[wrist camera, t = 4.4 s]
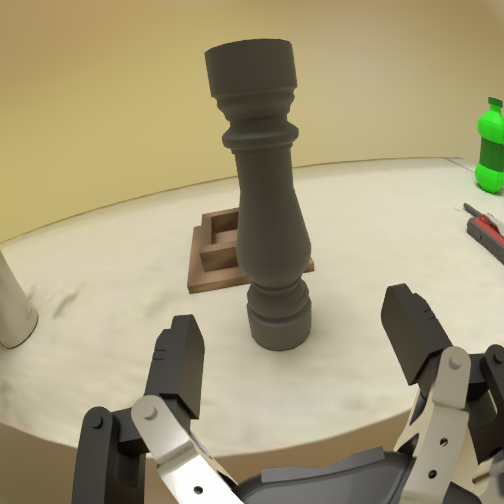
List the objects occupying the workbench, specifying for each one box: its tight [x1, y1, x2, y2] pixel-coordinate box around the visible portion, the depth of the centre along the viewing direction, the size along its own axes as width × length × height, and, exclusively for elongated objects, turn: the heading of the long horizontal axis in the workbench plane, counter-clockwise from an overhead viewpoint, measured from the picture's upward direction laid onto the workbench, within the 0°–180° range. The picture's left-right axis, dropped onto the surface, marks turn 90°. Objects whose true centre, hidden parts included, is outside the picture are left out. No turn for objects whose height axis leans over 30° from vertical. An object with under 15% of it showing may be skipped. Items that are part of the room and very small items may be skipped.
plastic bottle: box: [475, 97, 504, 193], centre depth 42 cm, size 10×10×25 cm
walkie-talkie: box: [464, 203, 504, 265], centre depth 33 cm, size 9×4×20 cm
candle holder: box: [205, 39, 311, 351], centre depth 21 cm, size 6×6×25 cm
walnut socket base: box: [187, 208, 314, 293], centre depth 39 cm, size 16×16×4 cm
